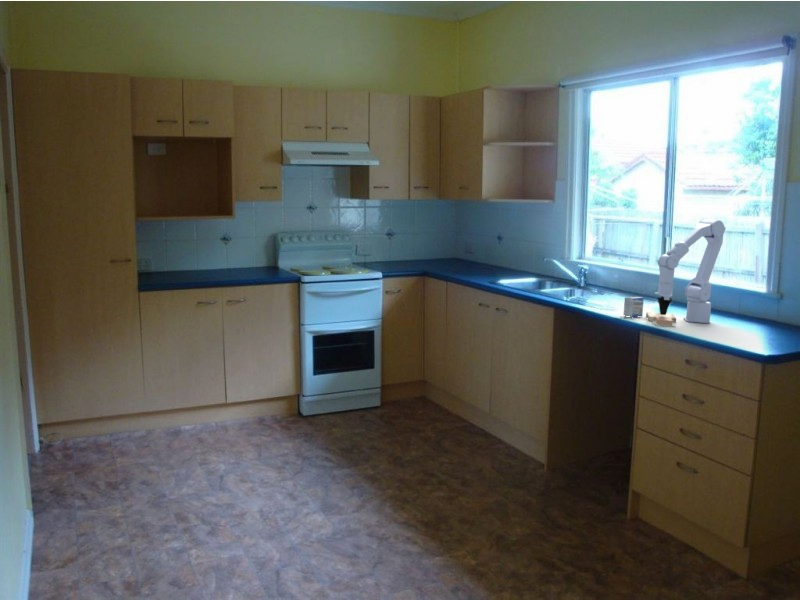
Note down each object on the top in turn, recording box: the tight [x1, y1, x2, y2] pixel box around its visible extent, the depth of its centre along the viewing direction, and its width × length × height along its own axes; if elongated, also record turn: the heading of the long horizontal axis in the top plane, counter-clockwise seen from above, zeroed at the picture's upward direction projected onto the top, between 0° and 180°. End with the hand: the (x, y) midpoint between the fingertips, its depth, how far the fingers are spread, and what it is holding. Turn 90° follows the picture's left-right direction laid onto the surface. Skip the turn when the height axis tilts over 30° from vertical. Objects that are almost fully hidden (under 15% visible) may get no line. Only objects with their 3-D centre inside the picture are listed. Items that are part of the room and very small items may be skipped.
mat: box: [652, 321, 676, 328], centre depth 307 cm, size 8×10×1 cm
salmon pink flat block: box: [655, 316, 674, 327], centre depth 307 cm, size 6×9×2 cm, turn 167°
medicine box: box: [623, 296, 645, 318], centre depth 322 cm, size 8×4×9 cm, turn 126°
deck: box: [645, 311, 677, 324], centre depth 317 cm, size 11×11×2 cm
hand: (662, 314), depth 311 cm, fingers closed
